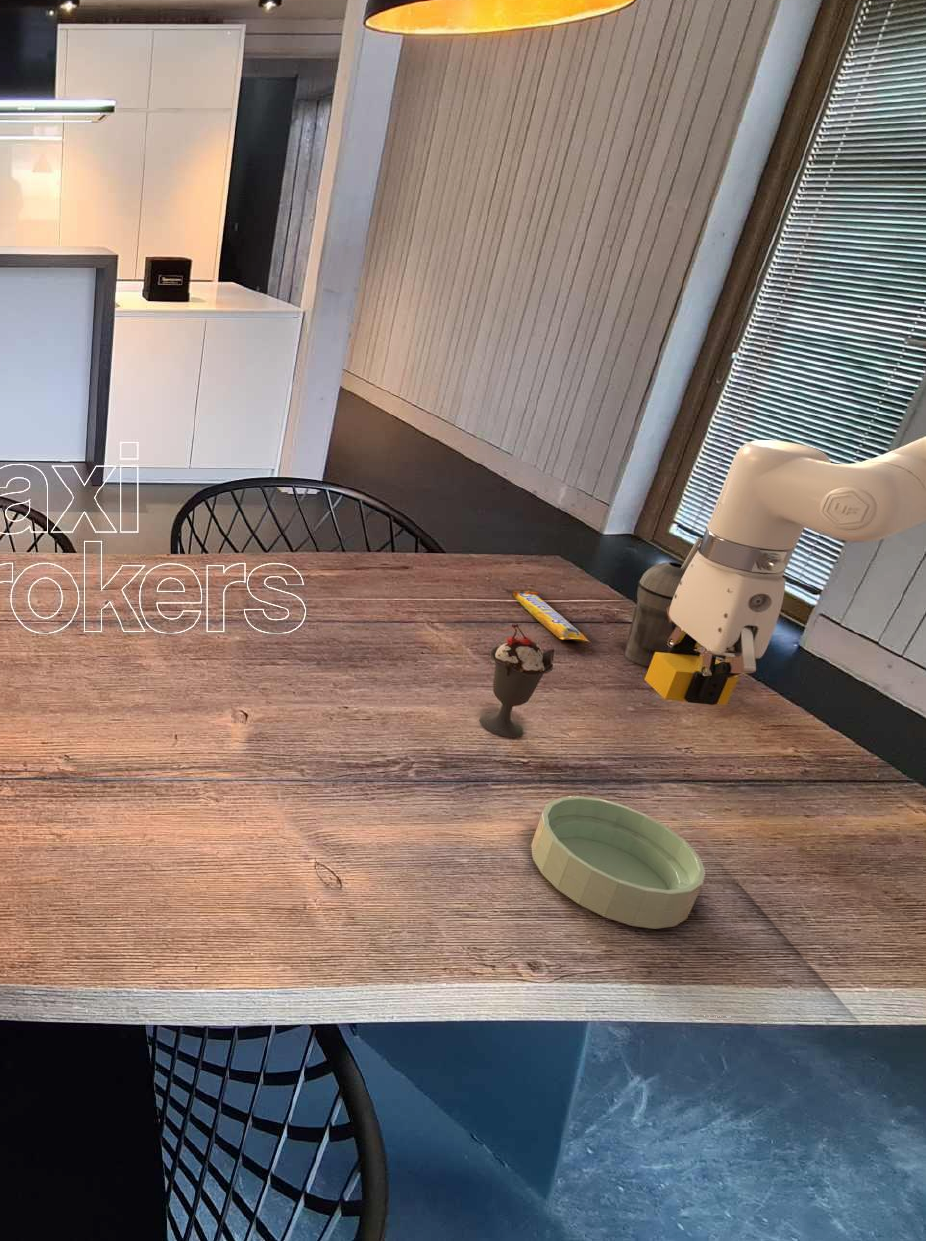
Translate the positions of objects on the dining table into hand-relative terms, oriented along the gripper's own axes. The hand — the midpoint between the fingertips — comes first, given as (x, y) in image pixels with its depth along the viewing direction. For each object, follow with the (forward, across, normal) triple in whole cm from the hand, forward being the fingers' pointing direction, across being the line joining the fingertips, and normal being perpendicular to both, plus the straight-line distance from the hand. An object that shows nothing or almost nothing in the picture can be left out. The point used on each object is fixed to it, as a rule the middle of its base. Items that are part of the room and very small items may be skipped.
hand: (686, 688), depth 98 cm
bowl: (+9, -24, +18) cm, 31 cm away
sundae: (+9, +2, +18) cm, 20 cm away
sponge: (+1, 0, 0) cm, 1 cm away
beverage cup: (+9, +24, -10) cm, 28 cm away
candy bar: (+10, +34, -1) cm, 35 cm away
